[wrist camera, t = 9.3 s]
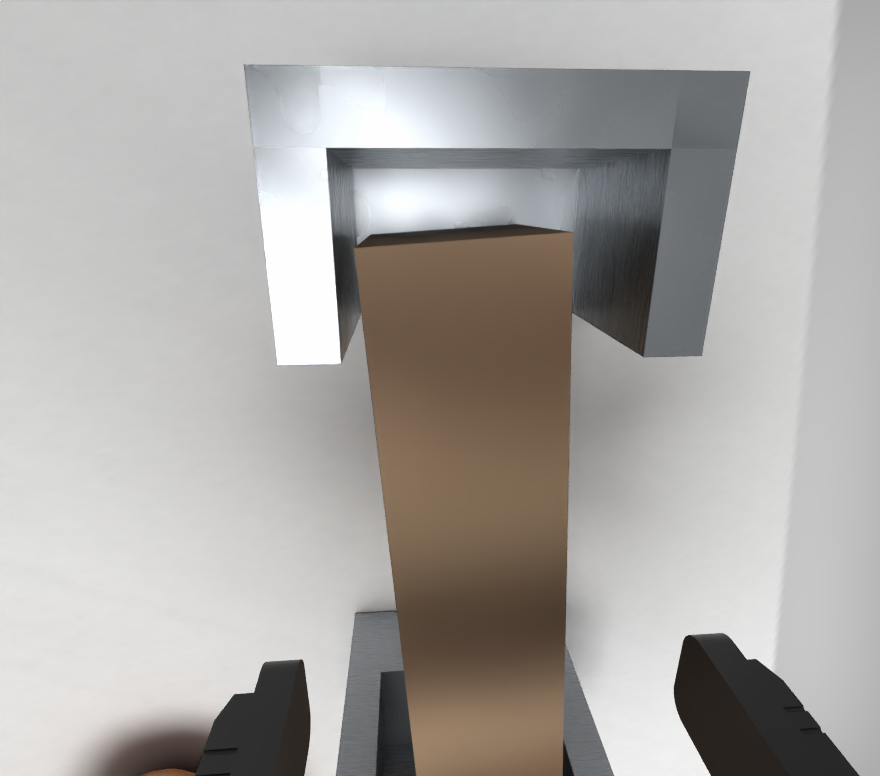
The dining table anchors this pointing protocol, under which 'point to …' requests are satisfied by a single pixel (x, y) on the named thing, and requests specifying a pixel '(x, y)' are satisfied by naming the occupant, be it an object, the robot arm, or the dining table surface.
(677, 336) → the cup brackets
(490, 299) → the rail
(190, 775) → the onion
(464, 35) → the dining table surface
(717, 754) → the robot arm
